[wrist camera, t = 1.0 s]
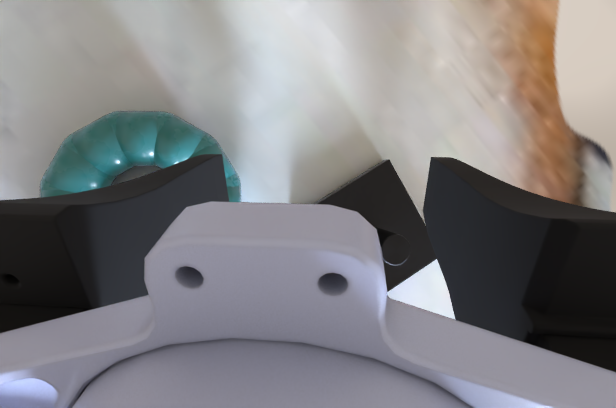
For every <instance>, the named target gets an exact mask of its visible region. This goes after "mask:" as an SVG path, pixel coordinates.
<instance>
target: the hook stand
mask: <svg viewBox="0 0 616 408" xmlns="http://www.w3.org/2000/svg"><path fill="white" fill-rule="evenodd" d="M314 204H325V205H333V206H337V207H341V208H345V209H348V210H352V211H356V212H358V213H359V214H360V215H361V216H362V217H364V218H365V219H366V220H367V221H368V222H369V223H370V224H371V225H372V226H373V227H374V228H376V229H377V233H378V237H379V242H380V246H381V250H382V256H383V264H384V271H385V279H386V286H387V292H388V291H390V290H391V289H393V288H394V287H396V286H397V285H399V284H400V283H402V282H403V281H405V280H406V279H407V278H409V277H410V276H412V275H413V274H415V273H416V272H418V271H419V270H421V269H422V268H424V267H425V266H427V265H428V264H430V263H431V262H433V261H434V260H436V259H437V257H436V255H435V252H434V249H433V247H432V244H431V241H430V239H429V236H428V233H427V228H426V226H425V224H424V222H423V220H422V218H421V216H420V215H419V213H418V211H417V209H416V207H415V205H414V204H413V202H412V200H411V198H410V196H409V195H408V193H407V191H406V189H405V187H404V185H403V184H402V182H401V180H400V178H399V176H398V175H397V173H396V171H395V169H394V167H393V165H392V164H391V162H390V160H383V161H382V162H380V163H378V164H377V165H375V166H374V167H372V168H370V169H369V170H367V171H366V172H364V173H362V174H361V175H359V176H358V177H356V178H354V179H353V180H351V181H349V182H348V183H346V184H345V185H343V186H341V187H340V188H338V189H337V190H335V191H333V192H332V193H330V194H328V195H327V196H325V197H324V198H322V199H320V200H319V201H317V202H316V203H314Z"/></svg>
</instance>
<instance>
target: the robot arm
mask: <svg viewBox="0 0 616 408" xmlns="http://www.w3.org/2000/svg"><path fill="white" fill-rule="evenodd" d="M423 213H424V218H425V224H426V228H427V233H428V236H429V239H430V241H431V244H432V247H433V249H434V252H435V255H436V257H437V260H438V263H439V265H440V268H441V270H442V273H443V276H444V278H445V281H446V284H447V287H448V290H449V294H450V298H451V302H452V306H453V311H454V315H455V319H456V320H454V319H451V318H448V317H445V316H442V315H439V314H436V313H433V312H430V311H427V310H424V309H421V308H418V307H414V306H411V305H408V304H405V303H402V302H399V301H396V300H393V299H390V298H389V297H388V296H387V286H386V279H385V271H384V264H383V256H382V250H381V246H380V242H379V237H378V233H377V229H376V228H374V227H373V226H372V225H371V224H370V223H369V222H368V221H367V220H366V219H365V218H364V217H362V216H361V215H360V214H359V213H358V212H356V211H352V210H348V209H345V208H341V207H337V206H333V205H325V204H287V203H250V202H229V197H228V191H227V184H226V177H225V170H224V164H223V157H222V154H203V155H198V156H195V157H192V158H189V159H187V160H184V161H182V162H179V163H177V164H174V165H172V166H169V167H167V168H164V169H161V170H159V171H156V172H153V173H150V174H148V175H145V176H142V177H139V178H136V179H133V180H130V181H127V182H123V183H119V184H116V185H112V186H108V187H104V188H99V189H93V190H88V191H83V192H78V193H72V194H65V195H58V196H50V197H41V198H30V199H15V200H0V408H616V213H615V212H608V211H602V210H597V209H592V208H587V207H582V206H578V205H573V204H569V203H565V202H561V201H557V200H554V199H550V198H546V197H543V196H540V195H537V194H534V193H531V192H528V191H525V190H523V189H520V188H517V187H515V186H512V185H510V184H508V183H505V182H503V181H501V180H498V179H496V178H494V177H492V176H490V175H488V174H486V173H484V172H482V171H480V170H478V169H476V168H474V167H472V166H470V165H468V164H466V163H464V162H461V161H459V160H457V159H454V158H448V157H431V161H430V168H429V174H428V181H427V188H426V194H425V201H424V207H423Z"/></svg>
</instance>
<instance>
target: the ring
mask: <svg viewBox="0 0 616 408" xmlns="http://www.w3.org/2000/svg"><path fill="white" fill-rule="evenodd" d="M203 154H222V157H223V164H224V170H225V177H226V184H227V191H228V197H229V202H241V184H240V179H239V176H238V175H237V173H236V171H235V170H234V168H233V166H232V165H231V163H230V161H229V160H228V158H227V157H226V155H225V153H224V152H223V150H222V149H221V147H220V145H219V144H218V142H217V141H216V140H215V139H214V138H213V137H212V136H211V135H209V134H208V133H206V132H204V131H202V130H201V129H199V128H197V127H195V126H193V125H192V124H190V123H188V122H186V121H184V120H183V119H181V118H179V117H177V116H176V115H173V114H171V113H168V112H158V111H116V112H112V113H109V114H107V115H105V116H103V117H102V118H100V119H98V120H96V121H94V122H92V123H90V124H89V125H87V126H85V127H83V128H81V129H79V130H78V131H76V132H74V133H72V134H70V135H69V136H68V137H67V138H66V139H65V140H64V141H63V143H62V144H61V146H60V148H59V149H58V151H57V153H56V155H55V156H54V158H53V160H52V162H51V163H50V165H49V167H48V169H47V170H46V172H45V174H44V176H43V177H42V180H41V183H40V198H41V197H50V196H58V195H65V194H72V193H78V192H83V191H88V190H93V189H99V188H104V187H108V186H111V184H112V183H113V181H114V179H115V177H116V176H118V175H119V174H121V173H123V172H125V171H126V170H128V169H130V168H132V167H133V166H158V167H160V168H162V169H164V168H167V167H169V166H172V165H174V164H177V163H179V162H182V161H184V160H187V159H189V158H192V157H195V156H198V155H203Z"/></svg>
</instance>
